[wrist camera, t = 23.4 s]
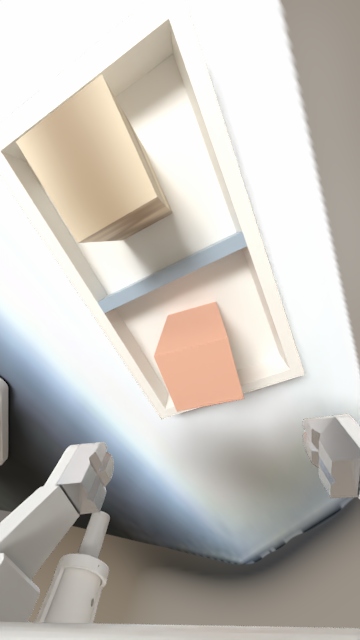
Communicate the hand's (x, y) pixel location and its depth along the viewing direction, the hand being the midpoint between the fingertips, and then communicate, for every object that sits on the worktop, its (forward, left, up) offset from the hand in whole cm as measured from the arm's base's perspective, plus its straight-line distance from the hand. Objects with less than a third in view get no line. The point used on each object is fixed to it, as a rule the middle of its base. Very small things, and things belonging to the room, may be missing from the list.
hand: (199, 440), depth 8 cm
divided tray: (+5, +3, -12) cm, 14 cm away
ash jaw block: (+10, +6, -12) cm, 16 cm away
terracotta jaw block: (0, 0, -12) cm, 12 cm away
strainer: (-36, +10, -13) cm, 40 cm away
